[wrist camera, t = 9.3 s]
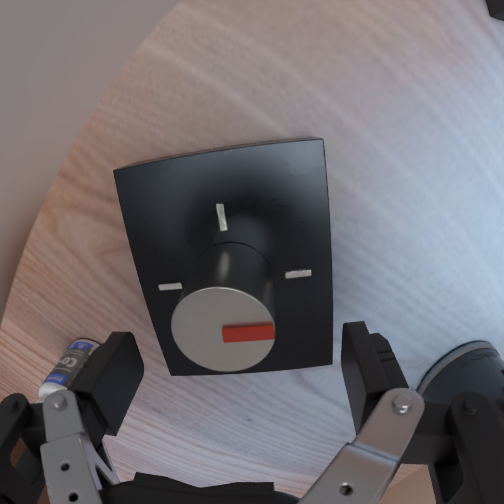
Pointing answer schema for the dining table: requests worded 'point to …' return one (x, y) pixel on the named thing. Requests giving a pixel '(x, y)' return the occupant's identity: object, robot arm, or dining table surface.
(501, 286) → the dining table surface
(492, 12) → the button block
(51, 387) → the pill bottle
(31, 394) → the dining table surface
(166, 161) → the panel
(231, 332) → the knob
